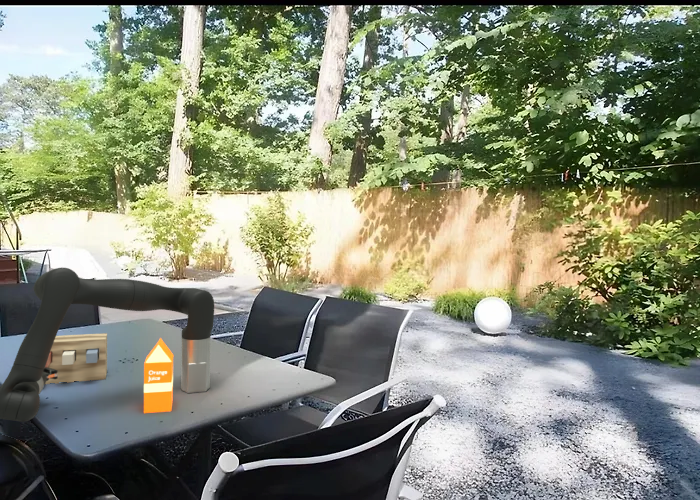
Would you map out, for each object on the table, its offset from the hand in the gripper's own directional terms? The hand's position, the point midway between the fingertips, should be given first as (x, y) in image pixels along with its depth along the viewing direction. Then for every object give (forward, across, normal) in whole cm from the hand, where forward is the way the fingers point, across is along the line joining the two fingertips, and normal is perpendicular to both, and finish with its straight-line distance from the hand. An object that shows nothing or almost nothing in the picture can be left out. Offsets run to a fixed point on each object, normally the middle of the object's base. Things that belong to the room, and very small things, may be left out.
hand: (38, 368), depth 158 cm
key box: (+18, -7, +9) cm, 21 cm away
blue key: (+13, -14, +2) cm, 19 cm away
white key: (+13, -7, +2) cm, 15 cm away
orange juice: (-20, -34, +9) cm, 41 cm away
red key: (+10, 0, +2) cm, 11 cm away
